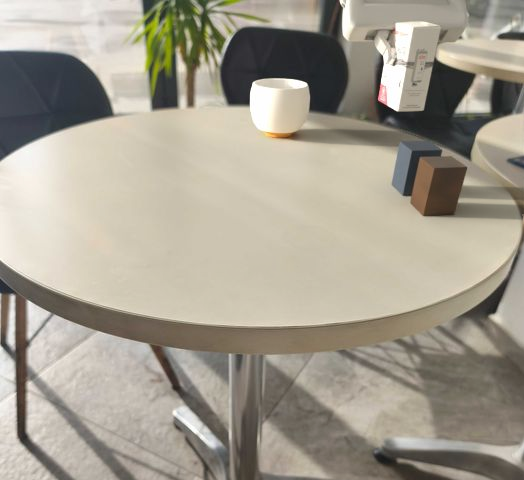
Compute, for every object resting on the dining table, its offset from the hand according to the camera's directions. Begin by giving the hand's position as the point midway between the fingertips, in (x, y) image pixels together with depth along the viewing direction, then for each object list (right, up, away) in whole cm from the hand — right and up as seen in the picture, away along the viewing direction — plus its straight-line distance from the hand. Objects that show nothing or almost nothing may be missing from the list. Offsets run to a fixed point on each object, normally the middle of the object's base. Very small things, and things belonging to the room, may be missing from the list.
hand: (409, 62), depth 79 cm
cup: (-20, 0, +26) cm, 33 cm away
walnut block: (+2, -25, -4) cm, 25 cm away
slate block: (+1, -20, +2) cm, 20 cm away
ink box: (0, -5, +5) cm, 7 cm away
